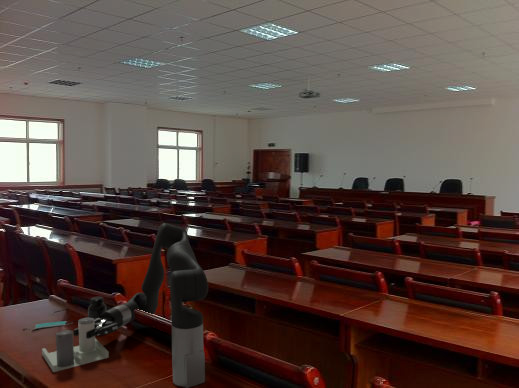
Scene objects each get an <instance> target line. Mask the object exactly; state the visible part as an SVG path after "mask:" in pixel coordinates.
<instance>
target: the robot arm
mask: <svg viewBox="0 0 519 388" xmlns="http://www.w3.org/2000/svg"><path fill="white" fill-rule="evenodd" d="M162 248H164V249H167V251H166V262H167V264H168V267H169V269H170V271H171V274H170V277H169V292H170V302H171V305H170V306H171V309H170V311H171V356H172V357H171V361H172V364H171V365H172V383H173V384H174V385H175V386H178V387H183V388H191V387H194V386H198V385H201V384H204V383H205V382H206V373H205V369H206V368H205V365H206V364H205V363H206V360H205V351H204V316H203V313H202V312H201V311H199V310H197V309H193V308H190V307H187V306H185V305H184V304H183V303H187V302H198V301H201V300H204V299H205V298H206V297H207V295H208V292H209V283H208V279H207V275H206V273H205V271H204V269H203V268H202V267H201V266H200V264H199V262H198V260H197V258H196V256H195V255H196V254H195V252H194V251H193V248H192V247H191V244H190V240H189V234H188V231H187V229H185V228H184V227H182V226H178V225H175V224H171V223H167V222H164V223H162V224H161V225H160V226H159V228H158V231H157V233H156V236H155V240H154V245H153V247H152V251H151V255H150V259H149V263H148V267H147V271H146V273H145V276H144V279H143V281H142V284H141V291H142V292H137V293H135V294H134V295H133V296H132V297H131V298H130V299H129V300H128V301H127V302H124V303H122V304H120V305H115V306H113V307H112V308H109V309H106V310H107V311H105V312H103V313H102V314H101V315H100V317H99V318H97V319H95V320H94V329H92V330H90V331H88V332H87V333H86V338H88V339H89V338H91V337H93V336H95V337H96V336H107V335H109V334H111V333H114V332H117V331H118V329H120V328H122V327H123V326H125V325H127V324H128V323H130V322H133V321H134V320H135V318H136V317H135V313H134V310H135V309H139V310H143V311H145V312H148V313H151V314H153V315H154V314H155V313H156V311H157V309H158V305H159V296H160V289H161V287H162V284H163V281H164V279H165V269H164V268H165V267H164V265H163V261H162V257H161V256H162ZM136 319H137V318H136ZM72 331H73V337H79V328H78V327H77V328H75V329H73V330H72Z"/></svg>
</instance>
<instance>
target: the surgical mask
mask: <svg viewBox="0 0 519 388" xmlns="http://www.w3.org/2000/svg"><path fill="white" fill-rule="evenodd" d="M68 310H70V308H69V307H68V308H65V309H62V310H56V311H54V312H53V314H55V313H58V312H64V311H68ZM78 321H79V320H78V319H77V320H73V321H69V322H67V320H61V321H54V322H53V321H52V322H45V323H39V324H37V323H36V324H35V325H34V328H33V329H31V332H35V331H38V330H41V329H46V328H56V327H62V326H66V325H71V324H73V323H75V322H78ZM31 327H33V325H31V326H28V327H27V330H30V328H31ZM22 330H23V331H25V330H26V328H23V329H22Z"/></svg>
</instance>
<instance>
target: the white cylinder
mask: <svg viewBox="0 0 519 388" xmlns="http://www.w3.org/2000/svg"><path fill="white" fill-rule="evenodd" d="M77 322H78V323H77V324H78V325H77V326H78V327H77V328H79V335H78V346H79V351H80V352H90V351H92V350H94V349H95V339H96V335H95V336H93V337H91V338H89V339H88V338H86V333H87V332H88V331H90V330H92V329H94V318H88V317H84V318H83V317H82V318H79V320H78V321H77Z"/></svg>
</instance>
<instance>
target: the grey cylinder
mask: <svg viewBox="0 0 519 388" xmlns="http://www.w3.org/2000/svg"><path fill="white" fill-rule="evenodd" d="M73 331H74V330H71V329H67V330H66V329H64V330H60V331H57V332H56V333H55V348H56V350H55V351H56V353H57V366H58V367H67V366H70V365H72V364H73V363H74V350H73V346H74V333H73Z"/></svg>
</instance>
